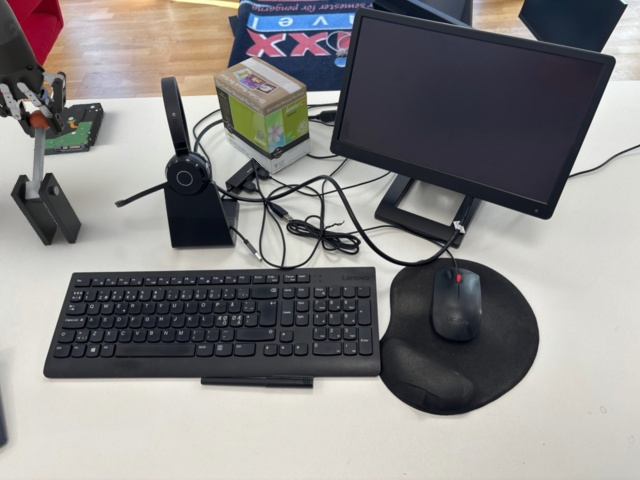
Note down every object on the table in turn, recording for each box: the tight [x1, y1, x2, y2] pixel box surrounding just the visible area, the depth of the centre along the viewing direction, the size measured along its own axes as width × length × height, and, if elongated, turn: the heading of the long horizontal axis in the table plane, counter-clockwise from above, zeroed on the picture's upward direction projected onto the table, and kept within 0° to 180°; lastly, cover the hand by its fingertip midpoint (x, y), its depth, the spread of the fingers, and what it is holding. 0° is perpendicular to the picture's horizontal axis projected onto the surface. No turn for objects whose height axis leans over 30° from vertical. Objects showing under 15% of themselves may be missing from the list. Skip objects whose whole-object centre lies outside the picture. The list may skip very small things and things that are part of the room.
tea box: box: [212, 55, 311, 175], centre depth 96 cm, size 15×10×15 cm, turn 42°
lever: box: [25, 109, 50, 203], centre depth 80 cm, size 15×3×3 cm, turn 3°
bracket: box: [10, 172, 82, 246], centre depth 82 cm, size 10×8×13 cm
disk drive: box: [44, 102, 105, 156], centre depth 105 cm, size 10×3×15 cm
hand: (47, 133), depth 83 cm, fingers closed on lever, 3 cm apart
